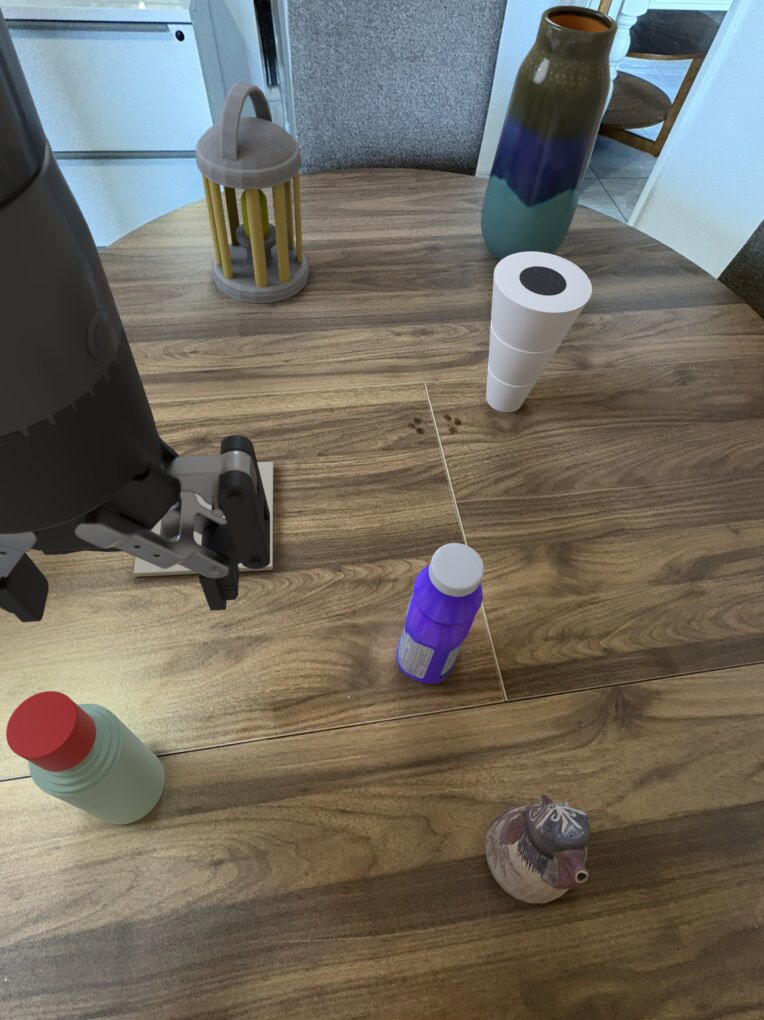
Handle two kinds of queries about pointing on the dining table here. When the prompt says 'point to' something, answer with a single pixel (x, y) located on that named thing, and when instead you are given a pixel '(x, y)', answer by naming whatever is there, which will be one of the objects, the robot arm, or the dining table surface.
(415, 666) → the bottle
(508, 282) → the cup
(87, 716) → the cap
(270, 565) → the coaster
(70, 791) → the water bottle
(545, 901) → the figurine
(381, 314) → the dining table surface
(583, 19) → the vase
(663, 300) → the dining table surface
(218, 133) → the lantern
